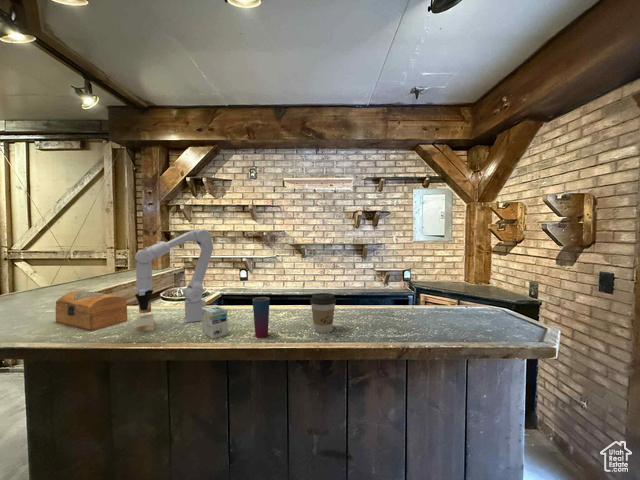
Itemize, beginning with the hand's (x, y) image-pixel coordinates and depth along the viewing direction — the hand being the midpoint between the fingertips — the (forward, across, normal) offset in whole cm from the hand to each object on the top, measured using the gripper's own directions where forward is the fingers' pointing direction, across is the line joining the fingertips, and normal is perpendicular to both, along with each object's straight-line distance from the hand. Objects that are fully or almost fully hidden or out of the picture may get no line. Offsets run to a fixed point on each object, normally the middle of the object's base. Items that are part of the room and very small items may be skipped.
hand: (145, 308), depth 117 cm
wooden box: (+10, -24, -25) cm, 36 cm away
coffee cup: (+9, +36, +69) cm, 78 cm away
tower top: (+7, 0, 0) cm, 7 cm away
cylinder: (+1, 0, 0) cm, 1 cm away
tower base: (+10, 0, 0) cm, 10 cm away
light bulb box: (+9, +19, +27) cm, 34 cm away
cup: (+9, +30, +44) cm, 54 cm away
